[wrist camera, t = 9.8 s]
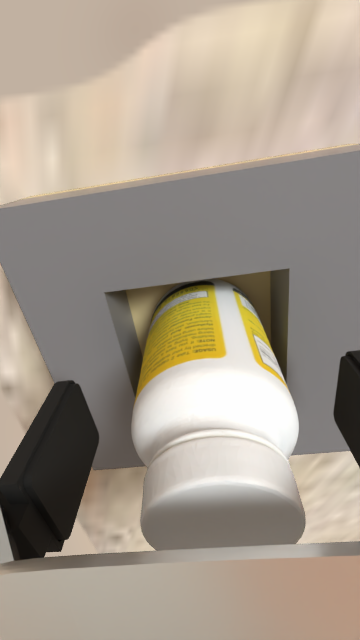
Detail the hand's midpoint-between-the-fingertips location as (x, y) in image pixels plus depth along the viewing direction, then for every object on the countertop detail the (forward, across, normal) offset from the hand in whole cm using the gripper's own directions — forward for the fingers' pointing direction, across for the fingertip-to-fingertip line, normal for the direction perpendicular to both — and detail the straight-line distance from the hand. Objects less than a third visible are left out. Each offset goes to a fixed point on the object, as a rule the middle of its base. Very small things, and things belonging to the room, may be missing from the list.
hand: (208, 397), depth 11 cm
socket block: (+6, 0, 0) cm, 6 cm away
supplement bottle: (+6, 0, 0) cm, 6 cm away
